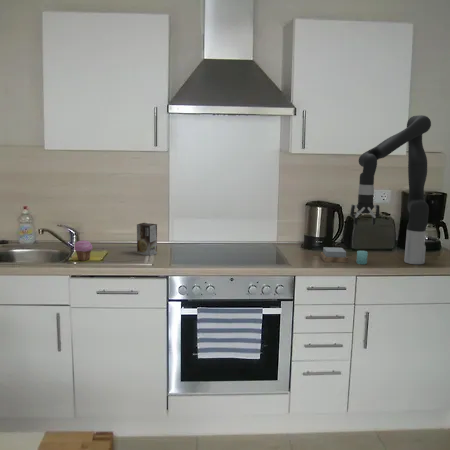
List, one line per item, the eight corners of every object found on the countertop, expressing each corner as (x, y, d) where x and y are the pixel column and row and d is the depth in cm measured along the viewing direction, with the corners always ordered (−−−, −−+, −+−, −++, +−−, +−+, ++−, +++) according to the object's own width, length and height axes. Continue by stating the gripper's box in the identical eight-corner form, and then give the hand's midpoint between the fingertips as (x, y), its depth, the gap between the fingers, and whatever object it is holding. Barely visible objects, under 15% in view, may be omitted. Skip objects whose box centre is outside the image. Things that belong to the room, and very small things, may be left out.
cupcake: (84, 262, 268) (83, 242, 266) (70, 260, 272) (70, 240, 270) (96, 259, 276) (95, 239, 274) (83, 257, 280) (82, 238, 278)
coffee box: (157, 253, 290) (157, 224, 288) (150, 255, 285) (149, 225, 282) (144, 251, 295) (144, 222, 292) (136, 253, 290) (136, 223, 287)
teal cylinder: (365, 262, 282) (366, 250, 281) (368, 264, 277) (368, 253, 276) (355, 261, 282) (356, 250, 281) (357, 264, 277) (358, 252, 276)
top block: (341, 253, 290) (341, 247, 290) (345, 257, 280) (346, 251, 280) (322, 252, 290) (323, 247, 290) (326, 257, 280) (326, 251, 280)
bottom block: (342, 258, 292) (342, 252, 292) (347, 263, 280) (348, 257, 280) (320, 257, 292) (320, 252, 291) (324, 263, 280) (324, 257, 280)
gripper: (377, 192, 277) (376, 223, 280) (350, 192, 277) (348, 223, 279) (382, 194, 269) (380, 226, 272) (353, 194, 269) (352, 226, 272)
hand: (364, 225), depth 276 cm, fingers open, 8 cm apart
